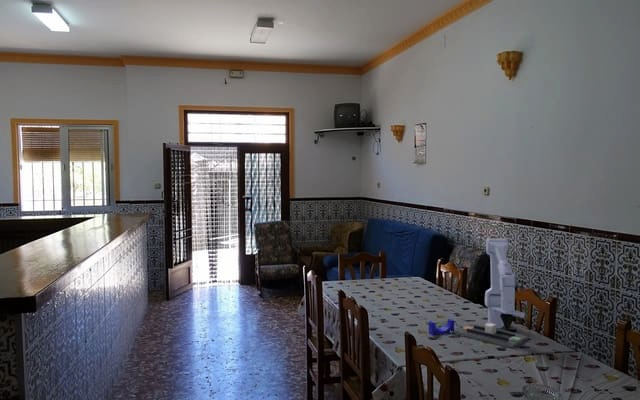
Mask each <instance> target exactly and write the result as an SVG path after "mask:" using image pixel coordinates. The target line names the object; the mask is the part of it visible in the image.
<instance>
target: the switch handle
mask: <svg viewBox="0 0 640 400" xmlns="http://www.w3.org/2000/svg"><path fill="white" fill-rule="evenodd" d="M484 327H485V332H486V333H490V334H495V333H496V329H497V328H496V324H492V323H489V324H487V325H485V324H484Z"/></svg>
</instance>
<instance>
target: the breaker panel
mask: <svg viewBox="0 0 640 400" xmlns="http://www.w3.org/2000/svg"><path fill="white" fill-rule="evenodd" d="M456 334H459V335H458V336H461V335H463V336H462V337H465V336H466V337H465V338H469V337H471V338H470V339H473V338H475V339H474V340H477V339H479V340H478V341H481V340H483V341H482V342H485V341H487V342H486V343H489V342H492V343H491V344H493V343H496V344H495V345H497V344H500V345H499V346H501V345H504V346H503V347H505V346H508V347H507V348H510V347H512V348H511V349H514V348H516V347H517V346H519V345H521V344H522V343H524V342H525V340H526V339H527V340H528V338H529V337H528V335H525V334H519V333H516V332H511V331H506V330H502V329H499V328H496V333H495V334H490V333H486V332H485V325H484V326H483V325H479V324H474V323H469V324H467V325H465V326H463V327H460V328H458V329H456V330H454V335H456ZM527 340H526V341H527ZM523 341H524V342H523ZM521 342H522V343H521ZM520 343H521V344H520ZM518 344H519V345H518ZM515 346H516V347H515ZM513 347H514V348H513Z"/></svg>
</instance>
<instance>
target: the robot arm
mask: <svg viewBox="0 0 640 400" xmlns="http://www.w3.org/2000/svg"><path fill="white" fill-rule="evenodd" d="M509 246H510V245H509V239H508V238H506V237H505V238H491V237H490V238H489V237H488V238H486V240H485V253H486V254H487V255H488V256H489V259H490V288H489V289H486V291H485V293H484V305H485V306H486V308H487V322H486V323H484V326H485V325H487V324H489V323H492V324H496V329H501V328H503V327H504V331H507V332H510V330H511V327H512V323H513V321H514V319H515V318H516V317H519V318H521V319H523V318H525V312H522V311H519V310H515V303H516V302H515V299H516V298H515V297H516V295H515V294H516V292H515V290H516V289H515V288H516V287H517V276H516V274H515V273H514V272H513V270H512V269H513V268H512V266H511V263H510V262H509V261H508V259H507V253H508V250H509Z"/></svg>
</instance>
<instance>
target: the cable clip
mask: <svg viewBox="0 0 640 400" xmlns="http://www.w3.org/2000/svg"><path fill="white" fill-rule="evenodd" d="M450 330H451V331H454V332H455V320H454V319H452V318H448V319H447V323H446V324H444V325H442V326H441V327H439V328H437V327H436V323H435V322H434V321H433V320H429V321H428V334H429V335H431V336H435V335H437V336H438V335H445V334H444V333H446V334H450V333H449V332H450Z"/></svg>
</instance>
